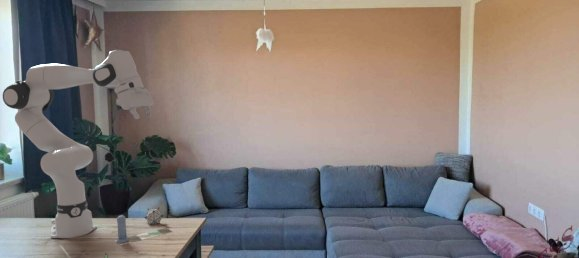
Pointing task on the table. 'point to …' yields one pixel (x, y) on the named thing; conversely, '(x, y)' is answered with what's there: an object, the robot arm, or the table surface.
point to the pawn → (121, 230)
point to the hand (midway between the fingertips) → (143, 117)
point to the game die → (153, 216)
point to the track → (146, 235)
